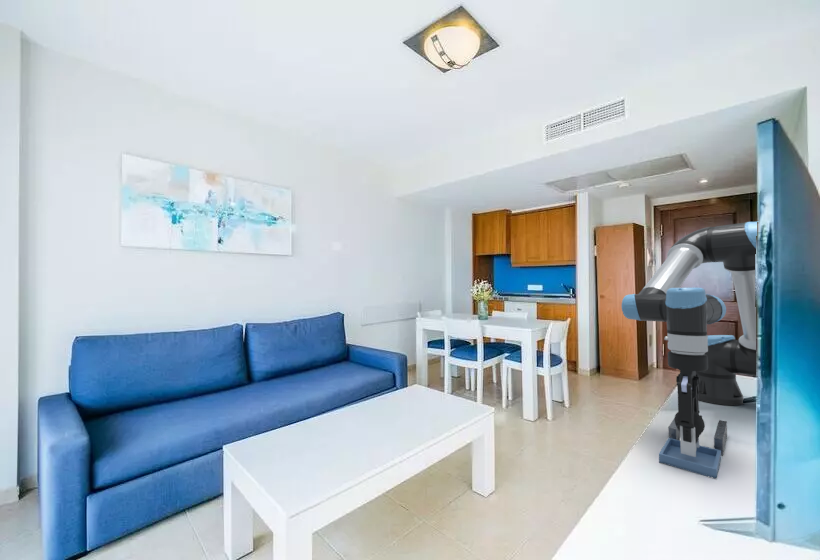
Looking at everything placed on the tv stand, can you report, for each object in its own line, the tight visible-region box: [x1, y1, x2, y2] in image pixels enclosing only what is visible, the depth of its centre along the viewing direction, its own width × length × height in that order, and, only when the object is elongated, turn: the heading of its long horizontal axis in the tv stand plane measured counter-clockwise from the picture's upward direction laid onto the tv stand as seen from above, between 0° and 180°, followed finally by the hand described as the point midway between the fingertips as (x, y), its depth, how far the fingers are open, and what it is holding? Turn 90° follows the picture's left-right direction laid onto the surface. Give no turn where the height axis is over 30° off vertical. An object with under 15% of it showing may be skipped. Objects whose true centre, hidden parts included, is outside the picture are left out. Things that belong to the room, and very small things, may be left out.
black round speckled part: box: [673, 411, 706, 451], centre depth 82 cm, size 6×6×10 cm
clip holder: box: [667, 418, 728, 457], centre depth 93 cm, size 16×11×4 cm
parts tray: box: [658, 437, 722, 479], centre depth 82 cm, size 12×10×2 cm
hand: (690, 449), depth 82 cm, fingers closed on black round speckled part, 5 cm apart
